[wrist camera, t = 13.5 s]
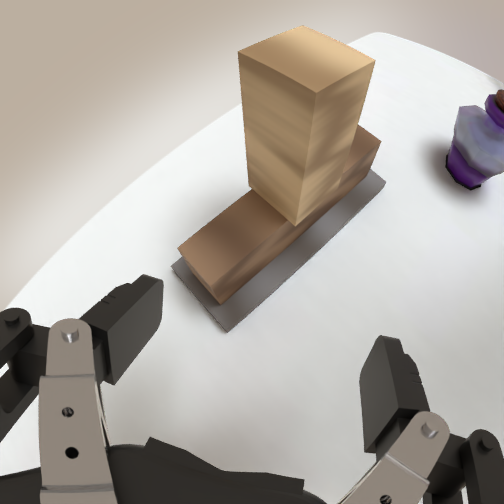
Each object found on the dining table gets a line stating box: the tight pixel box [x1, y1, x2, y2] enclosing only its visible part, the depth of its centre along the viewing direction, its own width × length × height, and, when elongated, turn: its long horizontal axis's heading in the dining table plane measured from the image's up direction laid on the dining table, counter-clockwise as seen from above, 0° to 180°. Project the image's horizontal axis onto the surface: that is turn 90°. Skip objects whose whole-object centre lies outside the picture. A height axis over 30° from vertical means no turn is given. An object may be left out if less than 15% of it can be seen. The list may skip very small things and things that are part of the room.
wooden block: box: [238, 26, 375, 226], centre depth 17 cm, size 4×4×11 cm
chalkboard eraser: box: [171, 125, 386, 333], centre depth 25 cm, size 20×7×6 cm, turn 132°
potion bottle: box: [446, 90, 504, 190], centre depth 24 cm, size 9×9×12 cm
